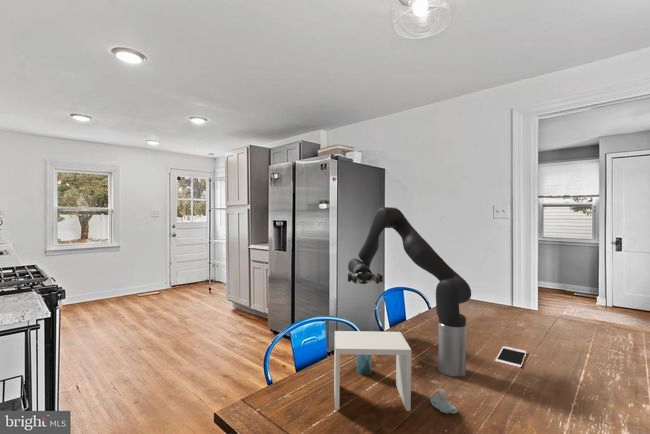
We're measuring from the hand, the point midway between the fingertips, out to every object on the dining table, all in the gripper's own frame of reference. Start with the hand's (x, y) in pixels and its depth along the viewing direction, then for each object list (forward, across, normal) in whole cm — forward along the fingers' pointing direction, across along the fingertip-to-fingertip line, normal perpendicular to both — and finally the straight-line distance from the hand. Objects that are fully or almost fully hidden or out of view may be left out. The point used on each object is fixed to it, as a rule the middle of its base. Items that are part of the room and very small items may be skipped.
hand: (366, 281), depth 127 cm
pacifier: (+33, +19, +30) cm, 49 cm away
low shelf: (+27, -2, +30) cm, 41 cm away
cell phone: (-2, +58, +31) cm, 66 cm away
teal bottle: (+11, -2, +30) cm, 32 cm away
